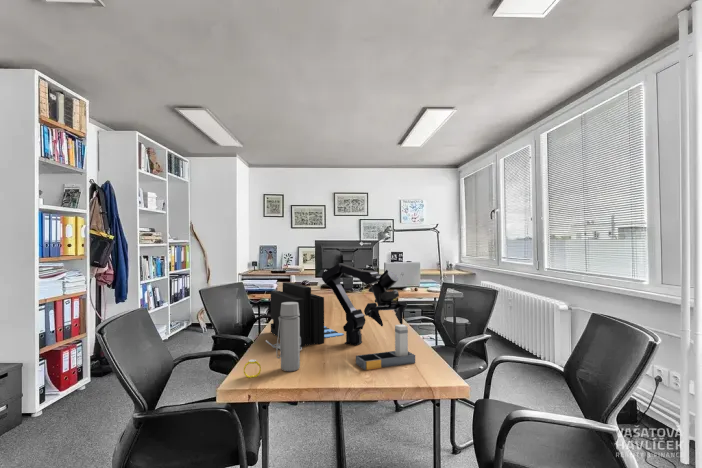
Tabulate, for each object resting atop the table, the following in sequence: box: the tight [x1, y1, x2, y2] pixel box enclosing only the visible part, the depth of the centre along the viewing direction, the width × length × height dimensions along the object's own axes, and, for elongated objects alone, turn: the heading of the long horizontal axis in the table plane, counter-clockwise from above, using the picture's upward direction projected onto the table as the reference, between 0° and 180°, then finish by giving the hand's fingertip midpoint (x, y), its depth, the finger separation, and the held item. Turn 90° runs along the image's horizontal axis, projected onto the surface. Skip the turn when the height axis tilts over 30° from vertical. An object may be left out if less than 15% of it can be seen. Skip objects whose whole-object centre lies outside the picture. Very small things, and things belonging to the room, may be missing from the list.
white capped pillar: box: [394, 324, 409, 357], centre depth 154 cm, size 4×4×14 cm
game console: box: [270, 281, 345, 348], centre depth 200 cm, size 35×30×27 cm
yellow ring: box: [243, 359, 262, 379], centre depth 139 cm, size 6×3×6 cm, turn 106°
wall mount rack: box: [265, 337, 303, 351], centre depth 172 cm, size 16×14×6 cm
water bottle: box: [275, 302, 301, 372], centre depth 147 cm, size 9×8×25 cm
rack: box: [355, 350, 416, 371], centre depth 151 cm, size 22×9×4 cm, turn 111°
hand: (392, 324), depth 162 cm, fingers open, 9 cm apart
